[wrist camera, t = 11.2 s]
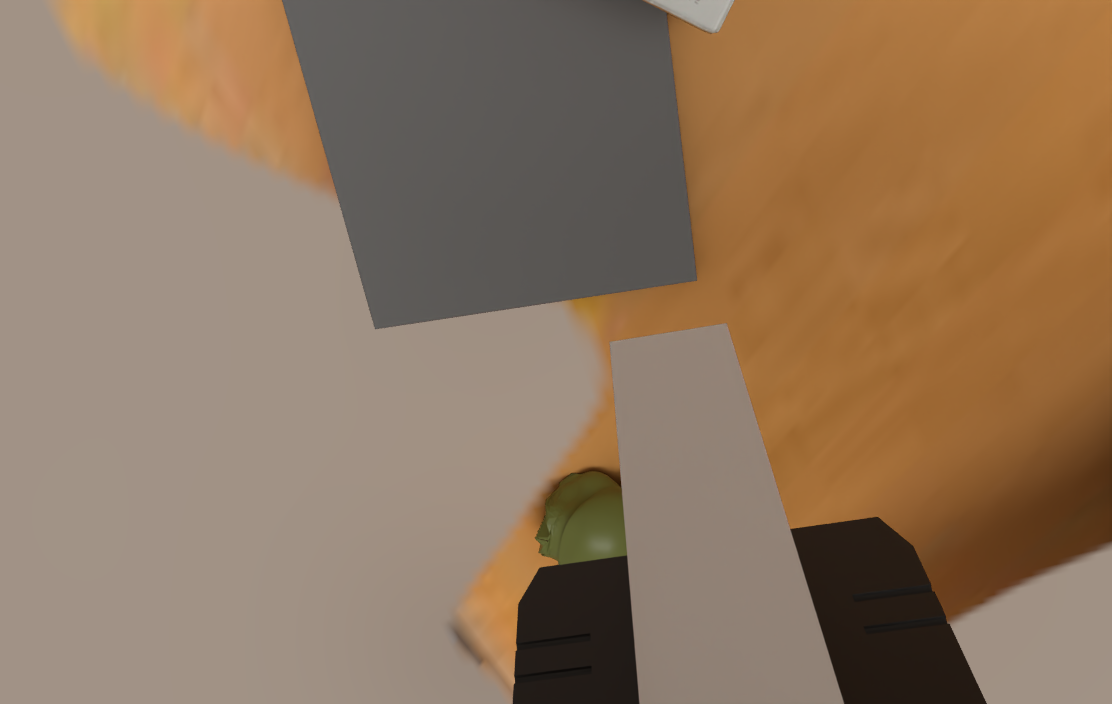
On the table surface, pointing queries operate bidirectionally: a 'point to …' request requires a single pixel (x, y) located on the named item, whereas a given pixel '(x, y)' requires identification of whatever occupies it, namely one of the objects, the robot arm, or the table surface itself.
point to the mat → (498, 149)
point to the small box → (697, 12)
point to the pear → (584, 520)
